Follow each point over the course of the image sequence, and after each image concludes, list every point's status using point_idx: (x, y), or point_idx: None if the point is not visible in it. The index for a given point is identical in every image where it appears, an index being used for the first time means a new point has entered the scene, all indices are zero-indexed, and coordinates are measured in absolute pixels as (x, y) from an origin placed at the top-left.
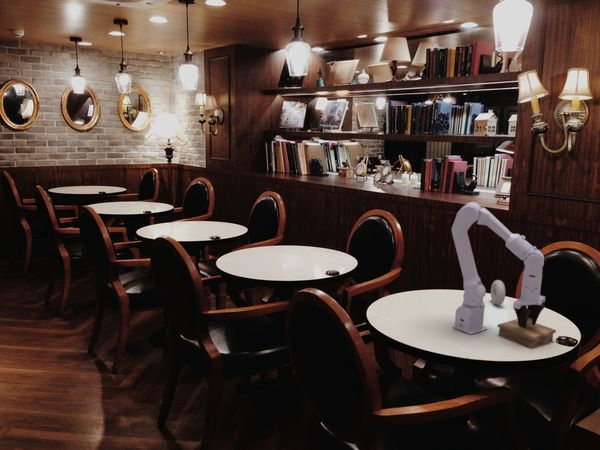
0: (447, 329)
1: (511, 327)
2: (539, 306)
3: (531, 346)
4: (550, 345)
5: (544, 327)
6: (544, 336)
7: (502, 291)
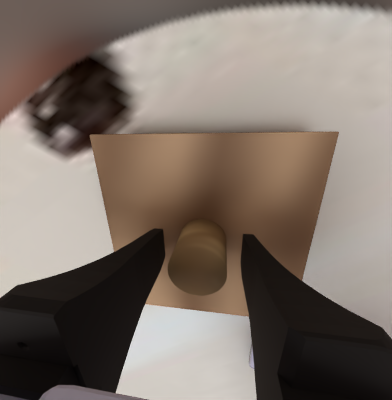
0: None
1: None
2: (67, 328)
3: None
4: (183, 110)
5: (119, 191)
6: None
7: None
